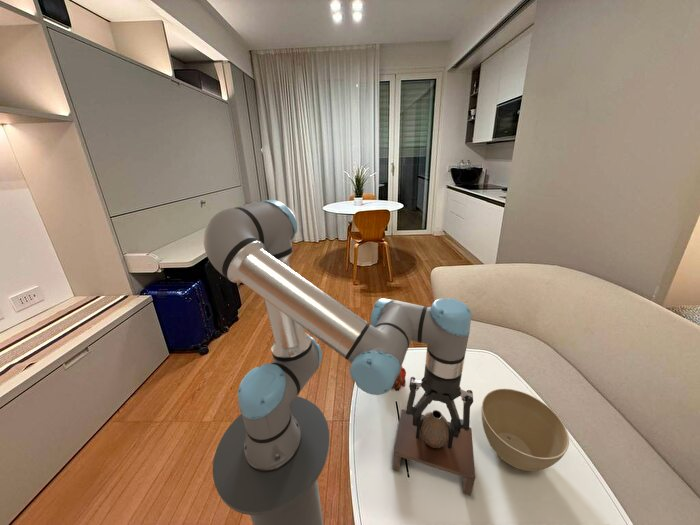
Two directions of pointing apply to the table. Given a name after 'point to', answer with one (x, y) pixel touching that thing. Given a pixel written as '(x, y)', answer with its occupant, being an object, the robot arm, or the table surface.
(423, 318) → the robot arm
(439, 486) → the table surface
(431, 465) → the shelf
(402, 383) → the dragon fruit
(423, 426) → the vase
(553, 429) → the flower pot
